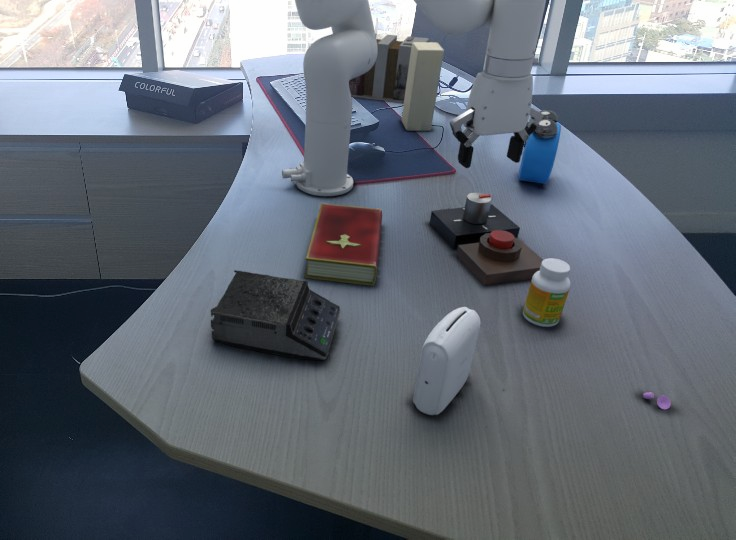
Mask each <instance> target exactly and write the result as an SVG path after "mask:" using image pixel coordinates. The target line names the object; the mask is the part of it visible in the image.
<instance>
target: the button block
mask: <svg viewBox="0 0 736 540" xmlns="http://www.w3.org/2000/svg"><path fill="white" fill-rule="evenodd" d="M489 237H490V233H486V234H484V235H483V236H481V237H480V241H479V243H472V244H464V245H458V249H456V254H455V256H456V257H457V259H458V260H460V262H462V263H463V265H464V266H465V267H466V268H467V269H468V270H469V271H470V272H471V273H472V274H473V275H474V277H476V278H477V280H479V282H481V284H482V285H483V286H491V285H497V284H504V283H505V284H506V283H512V282H521V281H527V280H532V277H533V275H534V274H535V273H536V272H537V271H540V266H541V263H542V261H543V260H544V259H543V258H542V257H541V256H540V255H539V254H537V253H536V252H535V251H534V250H533V249H532V248H531V247H530V246H528V244H526V243H525V242H524V241H522V239H520V238H519V237H518V238H515V237H514V242H513V246H512V248H510V249H500V248H496V247H493V246H491V245H490V244H489Z"/></svg>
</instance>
